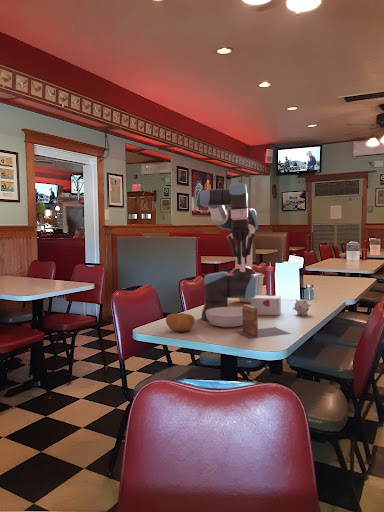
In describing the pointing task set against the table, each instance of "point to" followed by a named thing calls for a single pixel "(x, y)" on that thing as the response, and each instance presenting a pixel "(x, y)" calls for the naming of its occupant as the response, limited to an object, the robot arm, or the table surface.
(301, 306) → the game die
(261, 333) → the rubber mat
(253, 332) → the wooden block
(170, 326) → the potato
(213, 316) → the serving bowl
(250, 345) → the table surface
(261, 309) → the supplement box
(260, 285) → the canister
